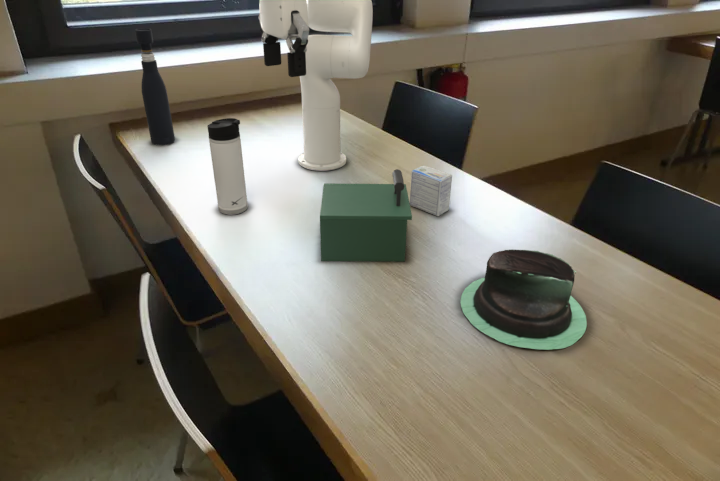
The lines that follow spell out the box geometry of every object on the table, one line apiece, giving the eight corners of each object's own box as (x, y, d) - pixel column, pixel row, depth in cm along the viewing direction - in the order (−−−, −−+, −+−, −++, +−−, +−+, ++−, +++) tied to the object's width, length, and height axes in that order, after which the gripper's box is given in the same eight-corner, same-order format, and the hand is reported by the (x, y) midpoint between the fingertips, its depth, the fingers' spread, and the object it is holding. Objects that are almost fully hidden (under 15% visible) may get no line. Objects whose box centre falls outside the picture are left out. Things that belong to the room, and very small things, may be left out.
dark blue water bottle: (180, 140, 152) (161, 29, 137) (161, 147, 148) (140, 32, 132) (164, 136, 155) (145, 26, 140) (146, 142, 151) (124, 30, 135)
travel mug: (242, 216, 114) (232, 126, 103) (213, 213, 115) (200, 123, 104) (253, 203, 119) (244, 116, 109) (225, 200, 120) (214, 114, 110)
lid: (405, 187, 107) (407, 161, 104) (411, 220, 95) (413, 191, 92) (323, 186, 106) (323, 160, 103) (319, 219, 95) (319, 191, 92)
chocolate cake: (570, 271, 96) (613, 351, 79) (473, 309, 100) (494, 391, 84) (544, 207, 89) (585, 278, 72) (441, 250, 93) (457, 326, 77)
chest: (399, 226, 111) (401, 187, 107) (404, 261, 99) (407, 220, 95) (324, 225, 111) (323, 187, 106) (321, 261, 99) (319, 219, 95)
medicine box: (449, 210, 117) (453, 174, 113) (437, 217, 115) (441, 180, 110) (420, 199, 122) (423, 164, 117) (408, 205, 119) (411, 170, 115)
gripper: (325, -34, 83) (327, 78, 91) (276, -40, 95) (282, 59, 104) (281, -34, 79) (287, 83, 88) (237, -39, 92) (246, 63, 100)
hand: (284, 70), depth 96 cm, fingers open, 9 cm apart
